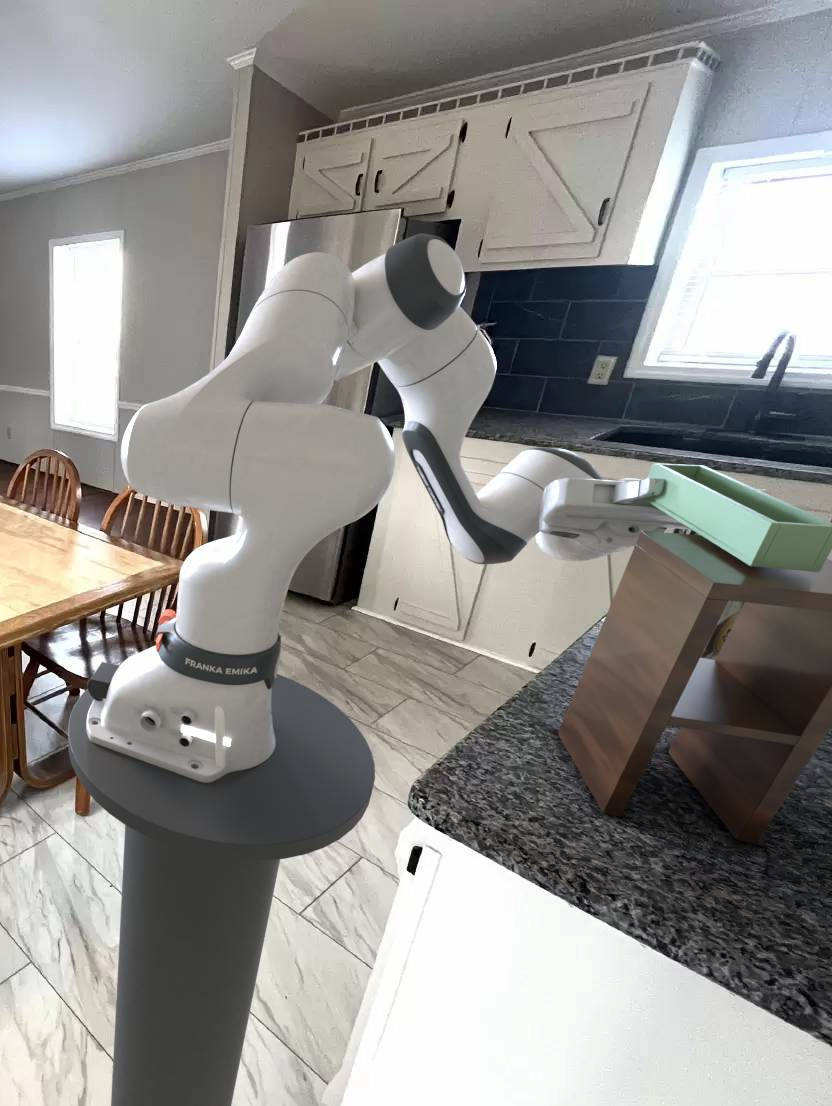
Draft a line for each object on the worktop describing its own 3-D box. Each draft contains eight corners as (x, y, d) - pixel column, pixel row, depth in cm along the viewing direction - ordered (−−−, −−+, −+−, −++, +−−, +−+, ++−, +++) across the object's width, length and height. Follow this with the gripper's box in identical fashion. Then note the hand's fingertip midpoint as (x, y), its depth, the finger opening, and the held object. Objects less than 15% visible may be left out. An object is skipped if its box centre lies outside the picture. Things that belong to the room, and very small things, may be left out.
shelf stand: (602, 813, 65) (714, 582, 54) (557, 733, 77) (641, 530, 65) (756, 844, 61) (912, 601, 50) (684, 755, 72) (796, 542, 61)
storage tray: (750, 566, 55) (771, 523, 54) (639, 497, 74) (652, 462, 72) (819, 572, 54) (844, 527, 52) (688, 499, 72) (703, 465, 70)
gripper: (723, 547, 78) (817, 524, 65) (524, 531, 85) (574, 507, 72) (729, 497, 78) (824, 464, 65) (530, 485, 85) (581, 453, 72)
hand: (691, 487), depth 68 cm, fingers closed on storage tray, 4 cm apart
